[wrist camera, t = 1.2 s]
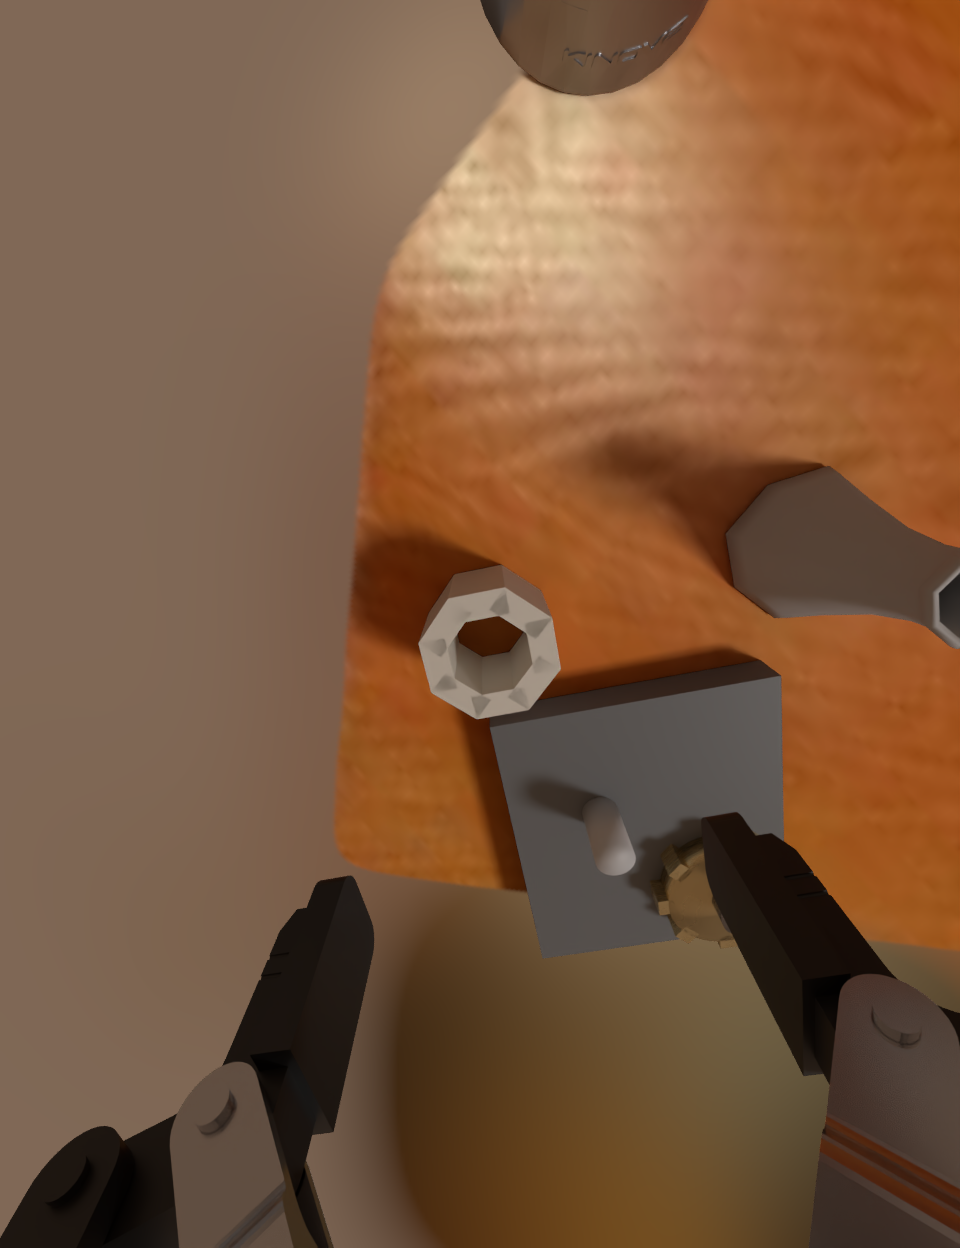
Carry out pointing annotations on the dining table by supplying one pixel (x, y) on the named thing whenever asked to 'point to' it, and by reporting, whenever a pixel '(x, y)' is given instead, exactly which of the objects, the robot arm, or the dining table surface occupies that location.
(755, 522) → the flask
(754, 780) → the board
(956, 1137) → the robot arm
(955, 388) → the dining table surface
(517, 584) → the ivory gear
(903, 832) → the dining table surface
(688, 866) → the brass gear
